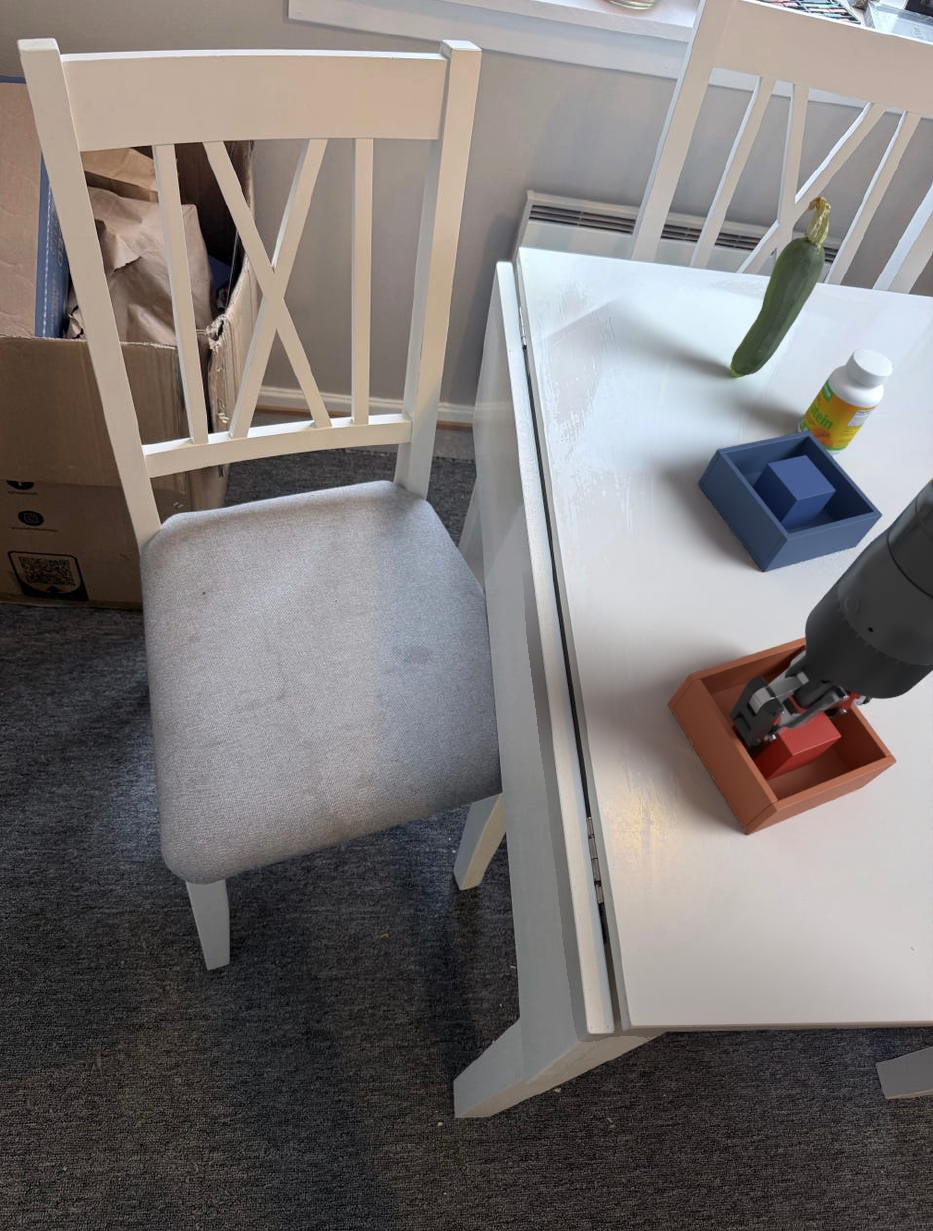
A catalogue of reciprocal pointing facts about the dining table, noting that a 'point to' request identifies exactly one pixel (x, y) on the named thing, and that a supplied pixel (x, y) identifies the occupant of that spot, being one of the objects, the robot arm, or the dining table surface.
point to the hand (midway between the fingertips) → (770, 738)
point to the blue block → (793, 491)
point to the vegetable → (785, 293)
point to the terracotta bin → (733, 770)
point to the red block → (796, 746)
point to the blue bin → (758, 526)
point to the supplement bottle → (847, 400)
